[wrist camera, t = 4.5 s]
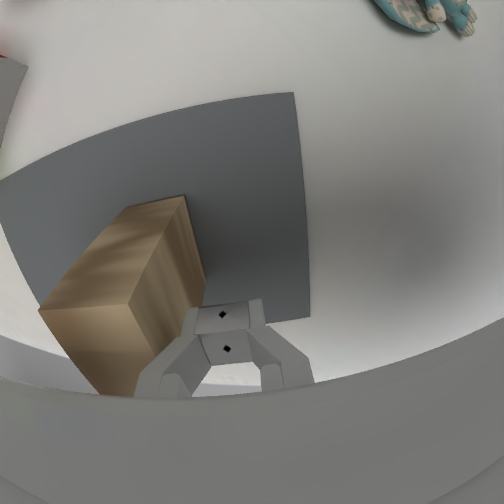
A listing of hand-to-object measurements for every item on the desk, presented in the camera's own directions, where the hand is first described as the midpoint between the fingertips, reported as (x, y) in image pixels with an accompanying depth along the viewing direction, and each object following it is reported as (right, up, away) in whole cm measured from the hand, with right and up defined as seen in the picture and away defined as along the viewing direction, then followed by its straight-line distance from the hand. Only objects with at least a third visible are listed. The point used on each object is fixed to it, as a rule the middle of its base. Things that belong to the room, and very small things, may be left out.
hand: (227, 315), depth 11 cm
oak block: (-5, +3, +7) cm, 9 cm away
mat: (-8, +3, +7) cm, 11 cm away
